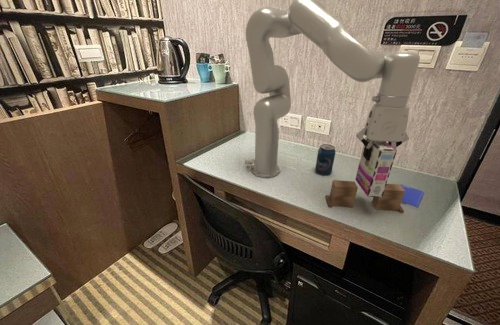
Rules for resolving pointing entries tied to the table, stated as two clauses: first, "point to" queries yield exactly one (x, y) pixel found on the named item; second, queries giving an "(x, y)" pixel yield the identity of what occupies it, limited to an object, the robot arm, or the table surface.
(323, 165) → the soda can
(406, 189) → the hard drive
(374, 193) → the candy bar box
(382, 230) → the table surface
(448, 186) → the table surface
